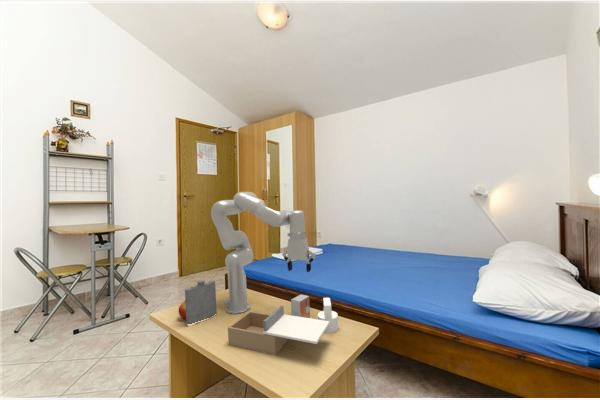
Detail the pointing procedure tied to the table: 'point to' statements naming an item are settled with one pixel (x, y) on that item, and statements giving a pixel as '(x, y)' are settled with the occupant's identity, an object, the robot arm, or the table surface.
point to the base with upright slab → (329, 316)
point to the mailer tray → (254, 334)
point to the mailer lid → (294, 327)
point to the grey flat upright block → (200, 301)
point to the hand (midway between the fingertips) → (299, 270)
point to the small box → (300, 306)
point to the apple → (182, 310)
